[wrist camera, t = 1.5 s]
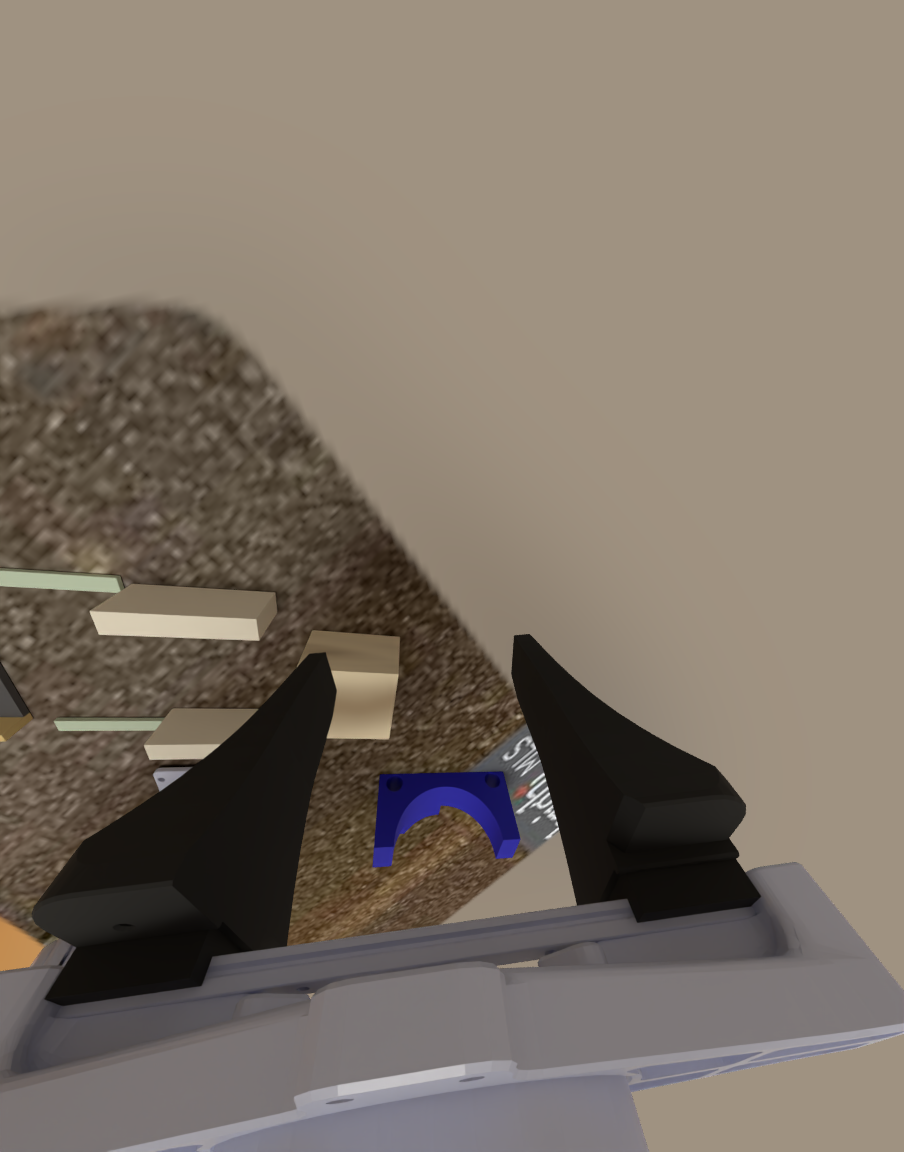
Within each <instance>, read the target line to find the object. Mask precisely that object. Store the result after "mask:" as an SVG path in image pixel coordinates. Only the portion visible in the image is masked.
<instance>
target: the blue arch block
mask: <svg viewBox="0 0 904 1152" xmlns="http://www.w3.org/2000/svg"><path fill="white" fill-rule="evenodd" d="M441 805H444V806H451V807H455V808H458V809H460V810H463V811H464V812H466V813H468V814H469V815H471V816H472V817H473V818H474V819H475V820H476V821H477V822H478V823H479V824H480V825H481V826H482V828H483V829H484V830H485V832H486V834H487V835H488V837H489V839H490V841H491V844H492V846H493V849H494V852H495V857H496V859H498V858H512V857H513V855H514V853H515V850H516V848H517V846H518V844H519V841H520V835H519V832H518V828H517V824H516V820H515V816H514V812H513V808H512V804H511V801H510V797H509V793H508V789H507V785H506V781H505V777H504V774H503V772H463V773H420V774H380V780H379V793H378V805H377V818H376V831H375V844H374V857H373V867H383V866H391V864H392V857H393V850H394V847H395V843H396V841H397V838H398V836H399V834H404V833H405V832H406V831H407V830H408V829H409V828H410V827H411V826H412V825H413V824H414V823H416V822H417V821H419V820H420V819H422V818H425V817H427V816H431V815H436V814H439V810H440V806H441Z"/></svg>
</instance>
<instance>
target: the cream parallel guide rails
mask: <svg viewBox="0 0 904 1152" xmlns="http://www.w3.org/2000/svg"><path fill="white" fill-rule="evenodd" d="M90 614H91V616H92V619H93V621H94V623H95V626H96V628H97V631H98V633H99V635H124V636H151V637H177V638H203V639H229V640H256V641H259V640H260V639H261V637H262V636H263V634H264V632H265V631H266V629H267V628H268V626H269V625H270V623H271V621H272V620H273V618H274V617H275V615H276V614H277V603H276V594H275V592H260V591H244V590H227V589H211V588H194V587H178V586H162V585H145V584H131V585H129V586H128V587H126V588H125V589H123V590H122V591H120V592H119V593H117V594H115V595H114V596H112V597H111V598H109V599H108V600H106V601H105V602H103V603H101V604H100V605H98V606H97V607H95V608H94V609H92V610H91V611H90ZM257 710H258V709H204V708H172V710H171V711H170V712H169V713H168V715H167V716H166V717H165V719H164V720H163V721H162V722H161V724H160V725H159V726H158V728H157V729H156V730H155V731H154V733H153V734H152V735H151V736H150V738H149V739H148V740H147V742H146V743H145V744H144V747H145V749H146V752H147V754H148V757H149V759H150V760H166V759H204V758H205V757H206V756H207V755H209V754H210V753H211V752H212V751H214V750H215V749H216V748H217V747H218V746H220V745H221V744H222V743H223V742H224V741H225V740H226V739H228V738H229V737H230V736H231V735H232V734H233V733H234V732H236V731H237V730H238V729H239V728H240V727H241V726H242V725H243V724H244V723H245V722H246V721H247V720H248V719H249V718H250V717H251V716H252V715H253V714H254V713H255V712H256V711H257Z"/></svg>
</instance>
